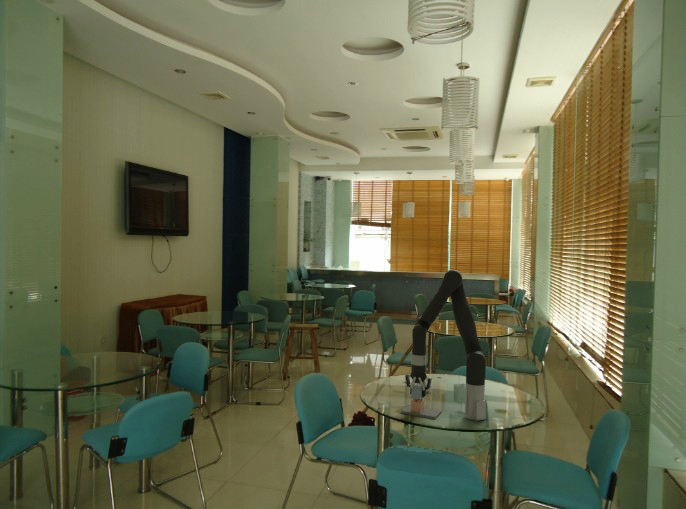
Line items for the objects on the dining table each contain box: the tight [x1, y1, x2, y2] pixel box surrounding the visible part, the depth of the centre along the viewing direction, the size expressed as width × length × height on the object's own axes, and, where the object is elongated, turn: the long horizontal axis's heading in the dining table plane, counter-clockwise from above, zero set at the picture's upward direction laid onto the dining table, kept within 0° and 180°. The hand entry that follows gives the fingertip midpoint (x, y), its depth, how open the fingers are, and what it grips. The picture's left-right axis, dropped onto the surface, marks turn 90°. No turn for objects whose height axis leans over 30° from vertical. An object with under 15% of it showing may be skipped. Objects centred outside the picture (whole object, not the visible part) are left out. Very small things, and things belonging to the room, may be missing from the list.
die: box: [415, 379, 433, 393], centre depth 303 cm, size 8×9×10 cm
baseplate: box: [400, 404, 443, 420], centre depth 264 cm, size 18×11×1 cm, turn 63°
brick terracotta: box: [410, 398, 425, 412], centre depth 265 cm, size 6×5×6 cm
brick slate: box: [410, 384, 424, 400], centre depth 264 cm, size 6×5×6 cm
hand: (418, 396), depth 264 cm, fingers open, 5 cm apart
